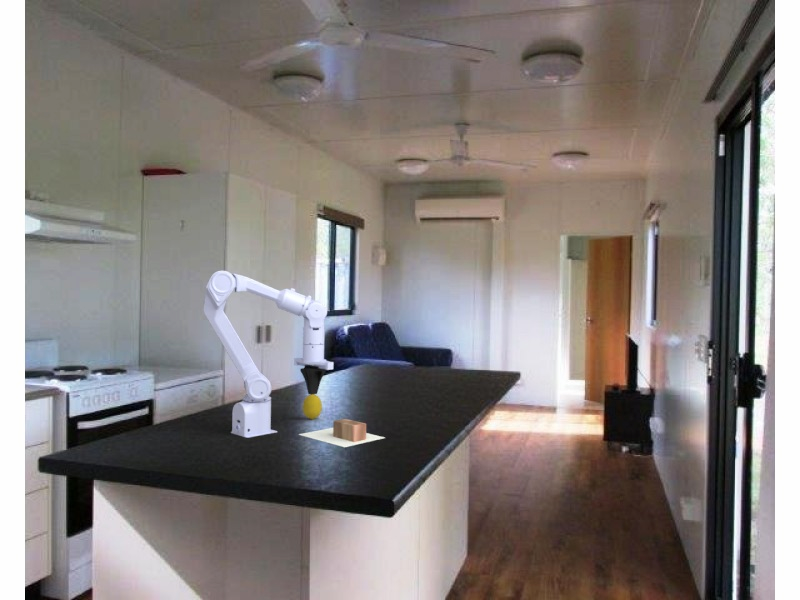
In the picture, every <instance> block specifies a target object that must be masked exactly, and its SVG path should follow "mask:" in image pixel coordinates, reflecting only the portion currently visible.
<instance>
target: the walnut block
mask: <svg viewBox="0 0 800 600" xmlns="http://www.w3.org/2000/svg"><path fill="white" fill-rule="evenodd" d="M332 428H333V437H337V438H340V439H344V440H348V441H352V442H357V441H362V440H366V433H367V423H365V422H361V421H357V420H352V419H348V418H343V419H337V420H333V426H332Z"/></svg>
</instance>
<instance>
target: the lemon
mask: <svg viewBox="0 0 800 600" xmlns="http://www.w3.org/2000/svg"><path fill="white" fill-rule="evenodd" d="M302 403H303V404H302V412H303V415H304V416H305V418H308V419H309V420H315V419H317V418H318V417H319V416H320V415H321V413H322V409H323V407H322V400H321V398H320V397H319V395H317V394H312V395H311V394H308V395H306V397H305V398H304V400H303V402H302Z"/></svg>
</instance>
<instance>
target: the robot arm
mask: <svg viewBox="0 0 800 600" xmlns="http://www.w3.org/2000/svg"><path fill="white" fill-rule="evenodd" d="M233 291H234V293H240V292H241V293H242V292H247V293H251V294H253V295H255V296H259V297H261V298H265V299H268V300H270V301H272V302H273V301H274V302H275V305H276V307H277V309H280V310H282V311H286V312H287V313H289V314H292V315H294V316H295V315H296V316H298V317H303V327H302V329H303V331H302V332H303V333H302V335H303V337H302V357H295V358H293V365H294V366H302V368H299V370H300V373H301V374H302V376H303V379H304V382H305V385H306V390H307V393H308V395H312V394H314V395H318V391H319V387H320V384H321V381H322V379H323V377H324V375H325V374H326V372H327V371H329V370H334V361H329V360H327V359H325V319H326V317H327V315H328V310H327V307H326V305H325V304H324V302H323V301H320V300H318V299H317V300H316V299H312V296H311V295H309V294H307V296H306V295H304V294H301V293H298V292H297V291H296V289H295V288H293V287H290V288H284V289H281V290H278V289H276V288H273V287H271V286H269V285H267V284H264V283H262V282H260V281H258V280H255V279H252V278H250V277H248V276H244V275H241V274H238V273H231V272H229V271H227V270H218V271H215V272H213V274H212V275H211V276H210V278H209V280H208V281H207V284H206V287H205V293H204V294H205V295H204V303H203V304H204V305H203V314H204V316H205V317H206V319H207V320H208V322H209V324H210V326H211V328H212V329H213V331H214V333H215V334H216V336H217V338H218V339H219V341H220V343H221V345H223V347H224V349H225V351H226V353H227V354H228V356H229V358H230V360H231V361H232V363H233V364H234V366H235V368H236V369H237V371H238V373H239V374H240V376H241V378H242V380H243V388H244V390H245V392H246V393H245V395H244V396H243V397H242V401H240V402H236V403H235V404H234V405H233V407H232V418H231V419H232V420H231V421H232V423H231V424H232V425H231V427H232V429H231V431H230V433H231V434H233V435H236V436H240V437H243V438H254V437H258V436H264V435H271V434H274V433H275V434H276V433H278V431H277V430H274V429H271V427H272V425H271V424H272V423H271V421H272V420H271V419H272V418H271V417H272V397H271V396H270V395H271V393H272V384H271V382H270V380H269V379H268V378H267V377H266V375H264V374H263V373H261V372H260V371H259V369H258V367H257V365H256V364H255V363H254V361H253V359H252V357H251V355H250V353H249V352H248V351H247V349H246V347H245V345H244V343H243V342H242V340H241V339H240V337H239V335H238V333H237V332H236V329H234V326H233V325H232V323H231V321H230V320H229V318H228V316H227V314H226V312H225V311H224V310H225V307H226V303H227V299H228V298H229V297H230V295H231V294H232V292H233Z"/></svg>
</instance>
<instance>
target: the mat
mask: <svg viewBox="0 0 800 600" xmlns="http://www.w3.org/2000/svg"><path fill="white" fill-rule="evenodd" d="M298 436H302V437H305V438H309V439H313V440H316V441H319V442H323V443H328V444H331V445H334V446H338V447H343V448H348V447H353V446H356V445H360V444H365V443H370V442H374V441H377V440H382V439H386V437H384V436H379V435H376V434H372V433H369V432H366V440H362V441H357V442H352V441H348V440H344V439H340V438H337V437H333V427H329V428H322V429H320V430H319V429H318V430H315V431H314V430H312V431H309V432H304V433H299V434H298Z"/></svg>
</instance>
